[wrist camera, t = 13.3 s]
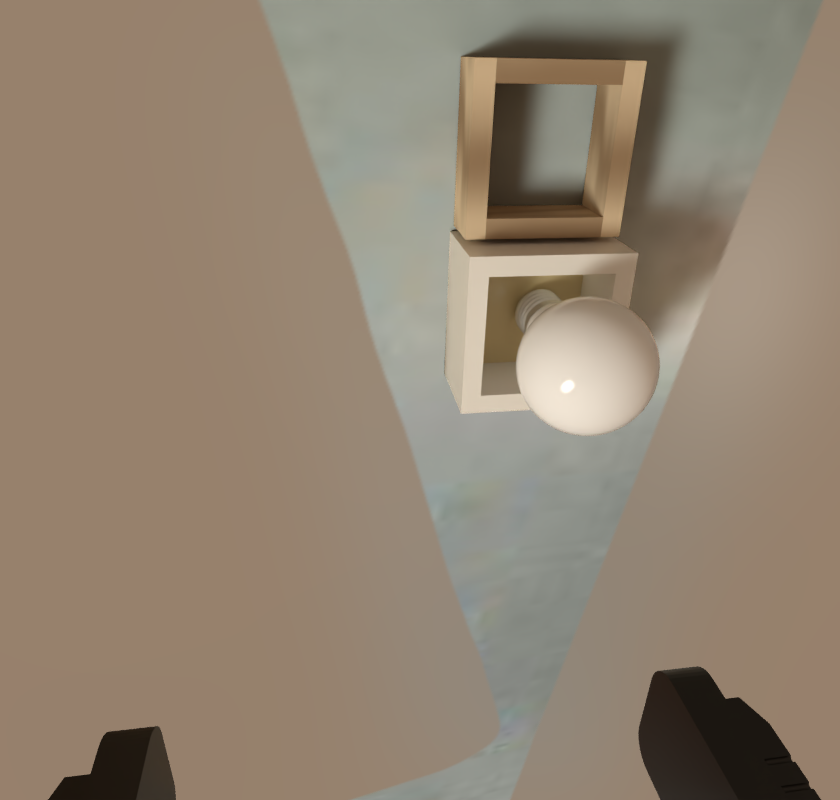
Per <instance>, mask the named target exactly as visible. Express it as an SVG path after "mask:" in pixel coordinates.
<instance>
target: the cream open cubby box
mask: <svg viewBox="0 0 840 800" xmlns="http://www.w3.org/2000/svg"><path fill="white" fill-rule="evenodd" d="M638 255H639V253H638V252H636V251H634V250H633V249H631V248H630V247H628V246H626V245H625V244H623V243H622V242H620V241H618V240H617V239H615V238H614V237H584V238H530V239H476V240H465V239H464V237H463V236H462V235H461V234H460V232H459V231H450V243H449V268H448V293H447V318H446V343H445V368H444V374H445V376H446V378H447V381H448V383H449V386H450V388H451V390H452V393H453V395H454V398H455V400H456V402H457V405H458V407H459V410H460V412H461V414H464V413H482V412H500V411H518V410H531V409H530V408H529V407H528V405H527V404H526V402H525V400H524V398H523V396H522V394H521V392H520V389H519V386H518V382H517V377H516V357H517V351H518V348H519V344H520V342H521V339H522V337H523V335H524V334H523V332H522V331H521V330H520V329H519V327H518V325H517V323H516V321H515V310H516V306H517V304H518V302H519V301H520V300H521V298H522V297H523V296H524V295H526V294H527V293H529V292H531V291H533V290H537V289H546V290H550V291H552V292H553V293H555V294H556V295H557V296H558V297H559V298H560V299H561V300H562V301H563V300H567V299H570V298H575V297H582V296H595V297H602V298H607V299H610V300H613V301H616V302H618V303H620V304H622V305H624V306H626V307H627V308H629V306H630V300H631V295H632V289H633V283H634V277H635V272H636V266H637V260H638Z"/></svg>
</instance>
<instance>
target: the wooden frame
mask: <svg viewBox="0 0 840 800" xmlns="http://www.w3.org/2000/svg"><path fill="white" fill-rule="evenodd" d="M646 64H647V61H636V60H607V59H557V58H507V57H461V70H460V93H459V117H458V140H457V164H456V187H455V211H454V226H455V227H456V229H457V230H458V231H459V232H460V234H461V235H462V236H463V237H464V239H465V240H476V239H530V238H584V237H619V234H620V228H621V222H622V215H623V209H624V203H625V196H626V190H627V184H628V178H629V171H630V165H631V159H632V152H633V146H634V140H635V133H636V127H637V121H638V114H639V108H640V102H641V96H642V89H643V83H644V77H645V70H646ZM495 83H519V84H587V85H597V92H596V100H595V108H594V115H593V123H592V131H591V138H590V146H589V154H588V162H587V169H586V177H585V185H584V192H583V200H582V205H520V206H487V204H488V189H489V173H490V158H491V142H492V127H493V112H494V96H495Z"/></svg>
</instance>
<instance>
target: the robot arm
mask: <svg viewBox="0 0 840 800" xmlns="http://www.w3.org/2000/svg"><path fill="white" fill-rule="evenodd" d="M639 745H640V751H641V755H642V758H643V762H644V764H645V767H646V769H647V771H648V774H649V776H650V778H651V780H652V782H653V784H654V787H655V789H656V791H657V793H658V795H659V797H660V800H821V799H820V798H819V796H818V795H817V793H816V792H815V790H814V789H811V788H810V786H809V781H808V780H807V778H806V777H805V775H804V774H803V773H802V771H801V770H800V768H799V767H798V765H797V764H796V762H792V760H791V755H790V753H789V752H788V750H787V749H786V748H785V746H784V745H783V743H782V742H781V740H780V739H779V737H778V736H777V734H776V733H775V731H774V730H773V728H772V727H771V725H770V724H769V723H768V722H767V721H766V720H765V719H763V718H762V717H761V716H760V715H759V714H758V713H756V712H755V711H754V710H753V709H752V708H751V707H749V706H748V705H747V704H746V703H745V702H744V701H742V700H741V699H740V698H738V697H737V698H729V699H725V697H724V696H723V694H722V693H721V691H720V690H719V688H718V686H717V685H716V683H715V682H714V680H713V679H712V677H711V676H710V674H709V673H708V672H707V671H706V670H704V669H703V668H701V667H689V668H681V669H672V670H663V671H657V672H655V673H654V675H653V677H652V680H651V684H650V688H649V692H648V696H647V699H646V703H645V707H644V711H643V714H642V718H641V722H640V726H639ZM48 800H176V794H175V785H174V781H173V777H172V772H171V768H170V764H169V760H168V757H167V753H166V749H165V744H164V740H163V736H162V732H161V730H160V728H159V727H158V726H155V727H147V728H137V729H129V730H120V731H111V732H107V733H106V734H105V735H104V736H103V738H102V740H101V742H100V745H99V748H98V751H97V755H96V758H95V761H94V764H93V768H92V771H91V774H89V775H81V776H72V777H65V778H64V779H63V780H62V782H61V783H60V784H59V786H58V787H57V788H56V790H55V791H54V793H53V794H52V795H51V797H50V798H49V799H48Z"/></svg>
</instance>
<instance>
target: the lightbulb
mask: <svg viewBox="0 0 840 800" xmlns="http://www.w3.org/2000/svg"><path fill="white" fill-rule="evenodd" d="M515 321H516V323H517V325H518V327H519V329H520V330H521V331H522V332H523V334H524V335H523V337H522V339H521V342H520V344H519V348H518V351H517V357H516V377H517V382H518V386H519V389H520V392H521V394H522V396H523V398H524V400H525V402H526V404H527V405H528V407H529V408H530V409H531V410H532V412H533V413H534V414H535V415H536V416H537V417H538V418H540V419H541V420H542V421H543V422H545V423H546V424H548V425H549V426H551V427H553V428H555V429H557V430H559V431H562V432H564V433H568V434H572V435H578V436H596V435H602V434H606V433H609V432H612V431H615V430H617V429H619V428H621V427H623V426H625V425H627V424H628V423H630V422H631V421H632V420H633V419H635V418H636V417H637V416H638V415H639V414H640V413H641V412H642V411H643V410H644V408H645V407H646V406H647V404H648V403H649V401H650V399H651V398H652V396H653V394H654V391H655V389H656V386H657V382H658V378H659V369H660V361H659V353H658V348H657V345H656V342H655V339H654V337H653V335H652V333H651V331H650V330H649V328H648V327H647V325H646V324H645V323H644V321H643V320H642V319H641V318H640V317H639V316H638V315H637V314H636V313H634V312H633V311H632V310H630V309H629V308H627V307H626V306H624V305H622V304H620V303H618V302H616V301H613V300H610V299H607V298H602V297H595V296H582V297H575V298H570V299H567V300H563V301H562V300H561V299H560V298H559V297H558V296H557V295H556V294H555V293H553V292H552V291H550V290H546V289H537V290H533V291H531V292H529V293H527V294H526V295H524V296H523V297H522V298H521V300H520V301H519V302H518V304H517V306H516V310H515Z"/></svg>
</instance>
